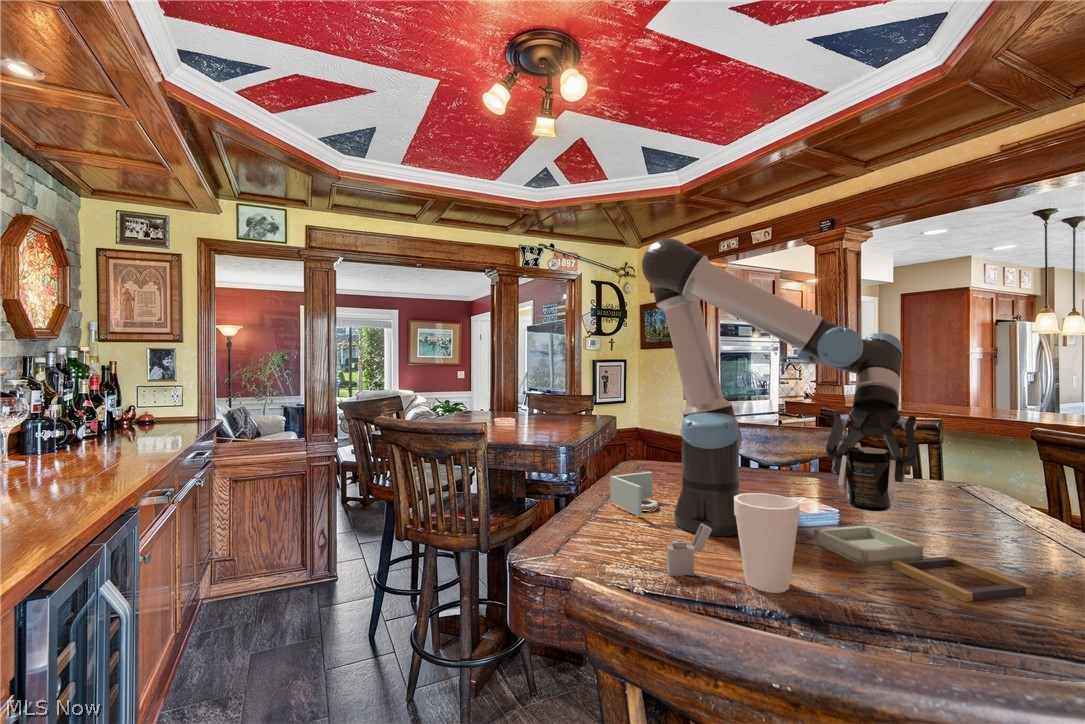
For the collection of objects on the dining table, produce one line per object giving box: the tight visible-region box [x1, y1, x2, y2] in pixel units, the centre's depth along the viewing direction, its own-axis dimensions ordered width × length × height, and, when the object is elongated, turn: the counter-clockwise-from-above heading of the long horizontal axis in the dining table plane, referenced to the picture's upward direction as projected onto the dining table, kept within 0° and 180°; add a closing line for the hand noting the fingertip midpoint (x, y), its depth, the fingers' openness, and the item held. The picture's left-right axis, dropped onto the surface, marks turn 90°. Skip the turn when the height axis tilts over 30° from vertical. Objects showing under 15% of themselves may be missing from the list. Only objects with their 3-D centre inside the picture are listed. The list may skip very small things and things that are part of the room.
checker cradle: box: [891, 555, 1034, 603], centre depth 78 cm, size 12×12×1 cm
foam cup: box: [734, 492, 801, 594], centre depth 78 cm, size 10×9×13 cm
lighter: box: [666, 523, 712, 577], centre depth 82 cm, size 7×2×8 cm, turn 92°
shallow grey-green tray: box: [813, 525, 924, 567], centre depth 91 cm, size 12×12×2 cm
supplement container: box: [846, 446, 892, 513], centre depth 90 cm, size 7×7×10 cm
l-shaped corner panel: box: [609, 471, 659, 516], centre depth 120 cm, size 12×12×8 cm
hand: (865, 492), depth 88 cm, fingers closed on supplement container, 7 cm apart
